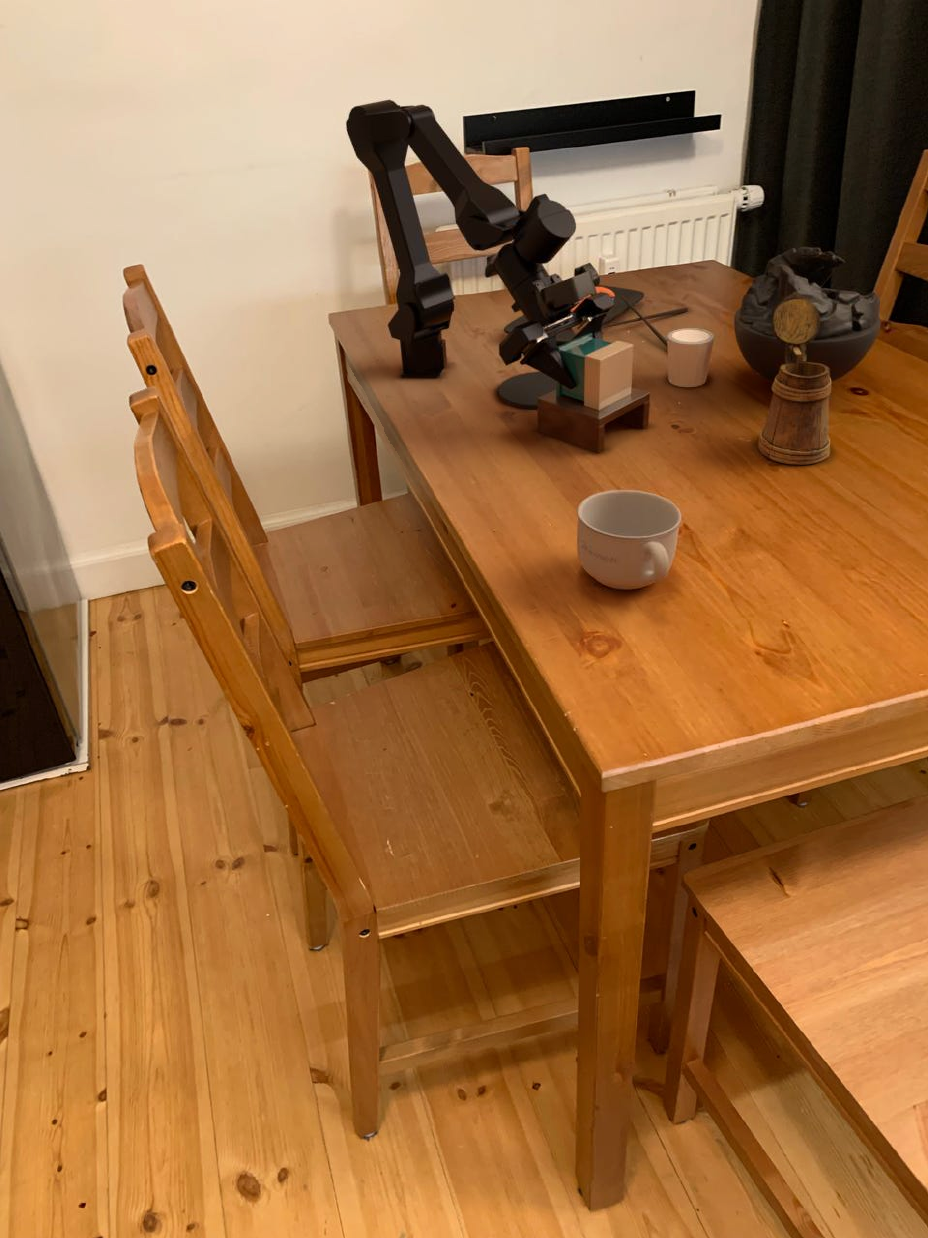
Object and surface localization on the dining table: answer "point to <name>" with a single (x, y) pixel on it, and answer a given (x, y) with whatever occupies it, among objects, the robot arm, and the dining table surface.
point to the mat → (526, 389)
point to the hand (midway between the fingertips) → (590, 379)
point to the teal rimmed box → (597, 370)
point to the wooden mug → (797, 390)
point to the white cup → (689, 356)
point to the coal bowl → (842, 313)
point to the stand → (589, 417)
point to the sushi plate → (622, 302)
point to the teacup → (627, 537)
